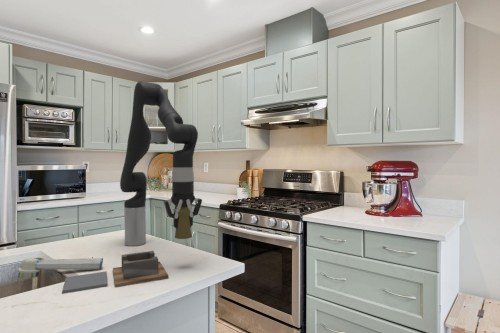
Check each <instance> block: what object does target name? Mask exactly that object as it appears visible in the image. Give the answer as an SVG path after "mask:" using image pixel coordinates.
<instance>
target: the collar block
mask: <svg viewBox="0 0 500 333" xmlns="http://www.w3.org/2000/svg"><path fill="white" fill-rule="evenodd" d="M112 275H113V281H114V288H119V287H125V286H130V285H131V286H132V285H136V284H144V283H149V282H155V281H162V280H166V279H169V273H168V272H167V270H166V269H165V267H164V266H163V264H162V263H161V261H160V260H159V257H158V256H156V253H155V251H154V250H149V251H141V252H134V253H126V254H121V266H118V267H113V268H112Z"/></svg>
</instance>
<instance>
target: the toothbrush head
mask: <svg viewBox="0 0 500 333" xmlns="http://www.w3.org/2000/svg"><path fill="white" fill-rule="evenodd" d="M103 261H104V257H103V258H99V257H95V258H94V257H93V256H92V257H90V258H89V257H88V258H85V257H83V258H63V259H62V258H59V259H58V258H55V259H38V258H32V257H30V258H24V259H23V261H22V264H21V267H18V269H17V272H18V277H17V278H19V279H24V280H30V279H31V278H32V279H35V278H37V277H39V274H40V272H41V271H42V270H58V271H59V270H60V271H61V270H62V271H63V270H65V271H66V270H68V271H69V270H70V271H71V270H72V271H73V270H75V271H76V270H77V271H79V270H80V271H81V270H82V271H99V270H102V268H103V263H104V262H103Z"/></svg>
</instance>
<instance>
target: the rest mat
mask: <svg viewBox="0 0 500 333" xmlns="http://www.w3.org/2000/svg"><path fill="white" fill-rule="evenodd" d="M108 282H109V281H108V273H107V271H99V272H93V273H85V274H79V275H78V274H77V275H73V276H71V275H70V276H66V277H65V280H64V283H63V287H62V291H61V294H68V292H69V293H73V292H81V291H86V290H94V289H98V288H106V287H108V286H109V285H108V284H109V283H108Z"/></svg>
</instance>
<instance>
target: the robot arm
mask: <svg viewBox="0 0 500 333" xmlns="http://www.w3.org/2000/svg"><path fill="white" fill-rule="evenodd" d="M132 100H133V102H132V113H131V120H130V121H131V122H130V126H129V133H128V136H127V137H128V138H127V145H126V152H125V159H124V164H123V167H122V171H121V175H120V178H119V179H120V181H119V188H120V190H121V192H123V193H135V195H134V196H132V197H131V198H129V199H126V200H124V202H123V204H124V205H123V206H124V210H123V211H124V213H123V214H124V245H125V246H127V247H128V246H130V247H137V246H142V245H145V244H146V243H147V231H146V230H147V220H146V212H147V211H146V201H147V183H148V182H147V175H146V174H145V173H144V172H143V171H135V172H134V170H135V167H136V165H138V163H139V162H140V161H141V160H142V159H143V158H144V156H145V155H146V154H147V153H148V151H149V150H150V145H151V140H152V133H151V129H150V128H149V125H148V124H147V122H146V118H145V116H144V115H145V114H144V107H145V106H151V107H152V106H156V107H158V110H157V118H158V119H159V121H160V123H161V124H162V125H163V127H164V129H165V132H166V136H167V139H168V141H170V142H171V143H173V144H179V145H180V144H182V145H183V147H182V149H179V150H176V151H174V152H173V154H172V170H171V171H172V172H171V174H172V175H171V184H172V185H171V186H172V188H171V190H172V191H171V194H172V195H171V196H170V199H167V200H164V201H163V205H164V207H165V211H166V213H167V216H168V217H169V218H172V219H173V222H172V223H173V227H174V228H175V230H176V229H177V228H178V212H179V210H180V208H181V207H188V208H189V210H190V215H189V221H190V227H191V228H192V226H194V216H197V215H199V212H200V210H201V209H200V208H201V206H202V203H203V199H202V198H199V197H198V198H197V197H195V194H194V192H195V185H194V184H195V183H194V182H195V175H194V174H195V173H194V160H193V159H194V153H195V150H196V145H197V143H198V138H199V132H198V130H197V127H196V126H195V125H194V124H187V123H184V120H183V118H182V116H181V115H180V114H179V113H178V112H177V110H176V109H175V108H174V107H173V105H172V103H171V102H170V98H169V96H168V95H167V94H166V91H165V89H164V88H163V87H162V85H160V84H159V83H155V82H148V81H143V80H142V81H138V82H137V83H136V84H135V86H134V90H133V99H132ZM172 204H173V205H174V208H173V212H172V209H171V206H172ZM192 204H195V205H194V208H193V209H192ZM178 208H179V209H178Z"/></svg>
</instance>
